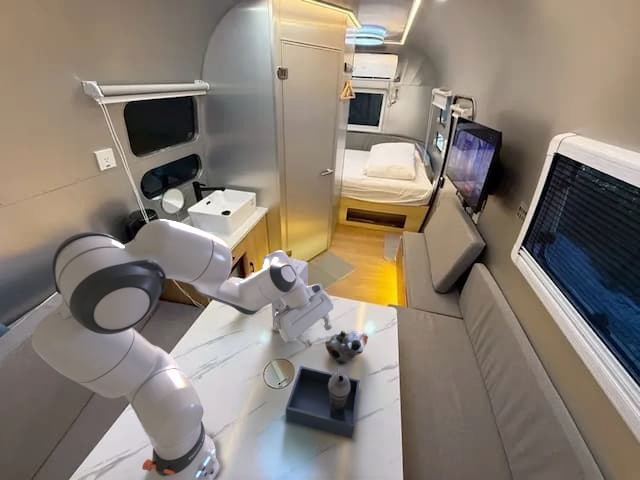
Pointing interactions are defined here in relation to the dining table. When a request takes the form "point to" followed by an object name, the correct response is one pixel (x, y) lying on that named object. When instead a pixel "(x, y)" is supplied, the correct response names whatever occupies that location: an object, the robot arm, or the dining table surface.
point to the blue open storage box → (320, 403)
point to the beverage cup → (338, 392)
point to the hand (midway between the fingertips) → (319, 337)
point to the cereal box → (303, 274)
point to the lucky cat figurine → (346, 345)
